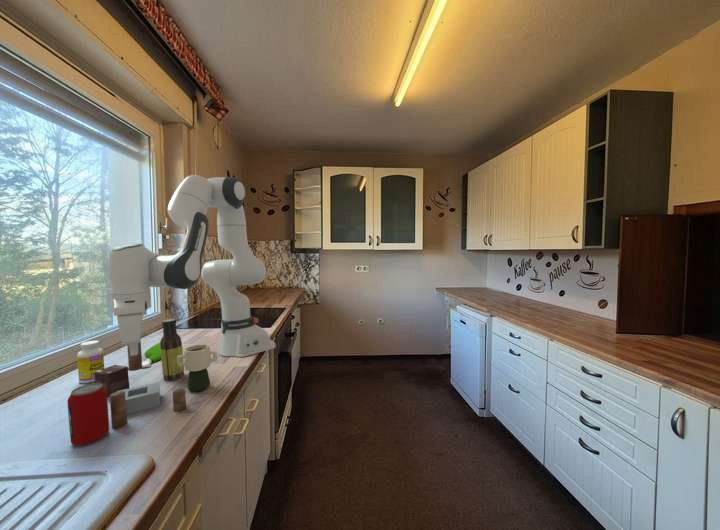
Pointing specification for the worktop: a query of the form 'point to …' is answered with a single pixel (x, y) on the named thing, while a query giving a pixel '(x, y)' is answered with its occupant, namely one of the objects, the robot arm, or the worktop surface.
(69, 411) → the beverage can
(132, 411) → the socket block
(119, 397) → the medium pin
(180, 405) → the short pin
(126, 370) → the box
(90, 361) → the supplement bottle
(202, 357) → the character mug
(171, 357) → the sauce bottle
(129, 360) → the long pin
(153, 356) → the spray bottle
